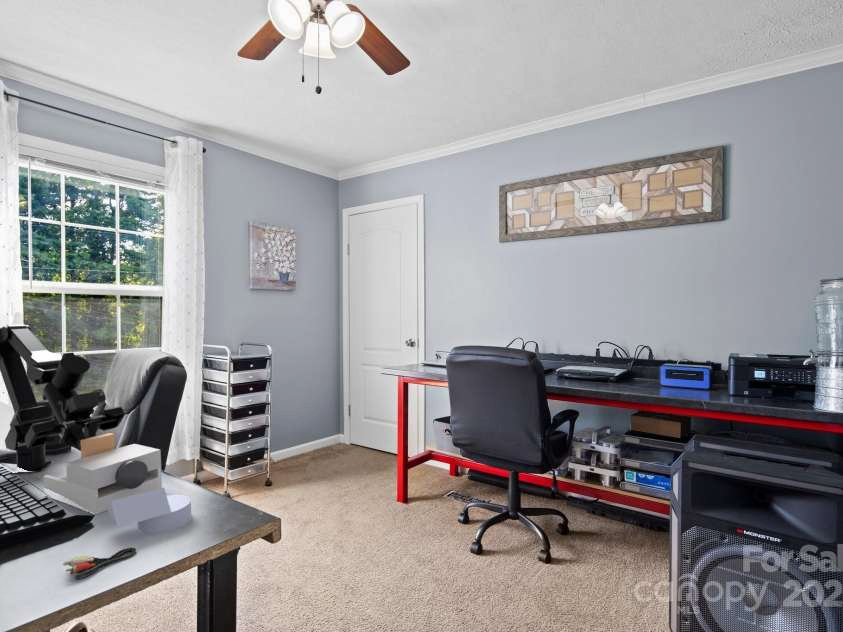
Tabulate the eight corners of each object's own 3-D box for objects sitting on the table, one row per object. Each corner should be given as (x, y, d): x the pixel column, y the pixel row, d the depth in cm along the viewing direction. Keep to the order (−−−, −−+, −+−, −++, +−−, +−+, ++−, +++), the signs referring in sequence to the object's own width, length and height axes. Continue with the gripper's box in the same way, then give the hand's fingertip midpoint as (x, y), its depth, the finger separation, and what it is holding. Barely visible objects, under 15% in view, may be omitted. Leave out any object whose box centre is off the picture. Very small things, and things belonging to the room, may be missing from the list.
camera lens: (54, 457, 129) (52, 403, 129) (30, 456, 131) (28, 402, 130) (81, 448, 137) (79, 397, 137) (58, 446, 139) (56, 396, 138)
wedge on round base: (118, 547, 82) (197, 522, 90) (116, 508, 81) (196, 487, 90) (108, 528, 88) (183, 507, 97) (106, 493, 88) (182, 474, 97)
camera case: (44, 496, 104) (42, 455, 103) (111, 474, 116) (110, 438, 116) (100, 517, 93) (98, 471, 93) (167, 490, 105) (165, 450, 105)
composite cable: (135, 550, 81) (134, 536, 81) (140, 562, 77) (139, 547, 77) (63, 573, 75) (62, 557, 75) (64, 586, 71) (64, 570, 71)
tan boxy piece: (67, 485, 101) (65, 443, 101) (123, 467, 111) (122, 429, 111) (88, 492, 97) (86, 449, 97) (144, 473, 107) (142, 434, 107)
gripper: (28, 386, 100) (57, 445, 95) (119, 373, 116) (148, 423, 112) (12, 419, 104) (39, 477, 99) (103, 402, 121) (130, 451, 116)
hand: (93, 455), depth 106 cm, fingers closed
